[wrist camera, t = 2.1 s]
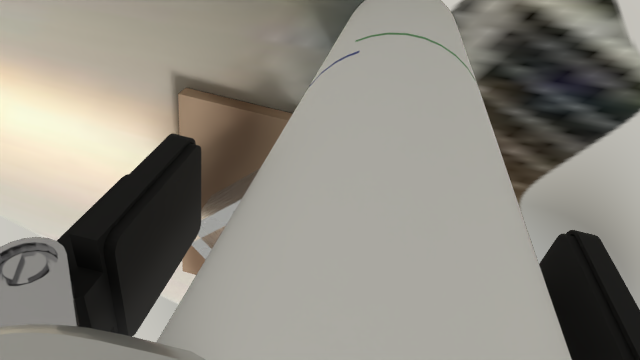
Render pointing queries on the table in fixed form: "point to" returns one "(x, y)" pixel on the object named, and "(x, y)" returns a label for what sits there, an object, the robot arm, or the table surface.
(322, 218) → the cylindrical container
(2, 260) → the robot arm
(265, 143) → the v cradle
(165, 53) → the table surface
